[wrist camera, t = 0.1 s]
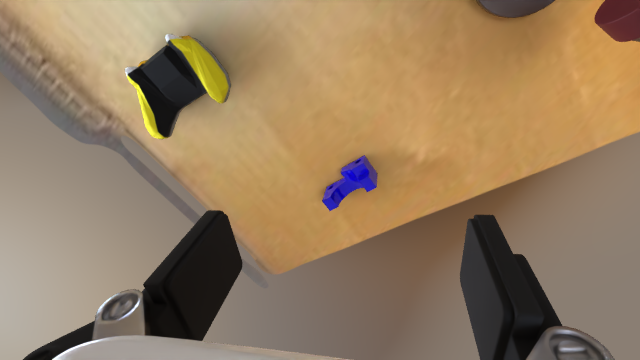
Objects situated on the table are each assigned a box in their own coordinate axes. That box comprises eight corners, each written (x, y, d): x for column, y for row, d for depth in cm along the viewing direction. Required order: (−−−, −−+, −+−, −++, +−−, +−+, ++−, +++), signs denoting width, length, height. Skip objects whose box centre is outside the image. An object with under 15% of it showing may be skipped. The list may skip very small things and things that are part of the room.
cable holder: (364, 155, 44) (362, 167, 40) (377, 173, 45) (376, 187, 42) (321, 179, 47) (315, 193, 44) (334, 196, 48) (330, 210, 45)
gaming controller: (247, 88, 42) (202, 17, 39) (230, 98, 38) (176, 19, 34) (176, 132, 48) (131, 75, 45) (153, 146, 43) (101, 83, 40)
